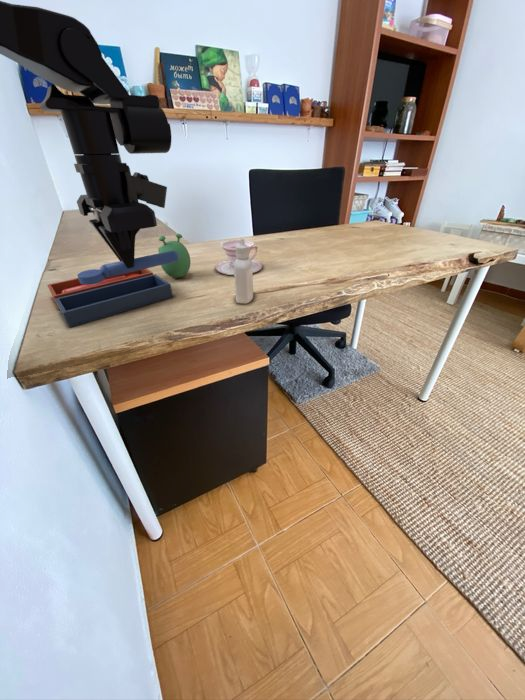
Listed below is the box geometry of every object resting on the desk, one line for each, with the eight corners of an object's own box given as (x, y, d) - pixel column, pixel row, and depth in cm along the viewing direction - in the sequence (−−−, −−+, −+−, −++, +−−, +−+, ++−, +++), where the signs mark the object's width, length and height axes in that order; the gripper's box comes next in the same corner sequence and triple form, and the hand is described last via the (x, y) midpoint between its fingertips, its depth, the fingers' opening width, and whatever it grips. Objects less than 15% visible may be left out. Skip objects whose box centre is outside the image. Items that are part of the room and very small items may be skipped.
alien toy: (182, 269, 76) (175, 228, 70) (198, 277, 71) (192, 234, 66) (157, 276, 72) (147, 233, 67) (172, 284, 68) (163, 240, 62)
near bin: (69, 327, 52) (62, 313, 50) (61, 312, 57) (54, 298, 55) (172, 297, 62) (170, 284, 60) (158, 286, 67) (155, 274, 65)
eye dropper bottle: (261, 296, 62) (260, 237, 55) (243, 306, 58) (240, 244, 51) (245, 291, 64) (243, 234, 57) (227, 300, 60) (222, 240, 53)
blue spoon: (174, 258, 56) (172, 247, 55) (183, 263, 53) (181, 252, 52) (77, 280, 47) (72, 267, 46) (82, 286, 45) (78, 274, 44)
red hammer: (65, 302, 60) (61, 293, 58) (61, 296, 62) (58, 288, 61) (146, 281, 68) (144, 273, 67) (140, 277, 70) (138, 269, 69)
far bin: (59, 310, 58) (53, 296, 56) (52, 297, 63) (47, 284, 61) (155, 284, 68) (152, 272, 66) (143, 275, 73) (140, 264, 71)
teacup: (212, 276, 72) (209, 250, 68) (219, 260, 82) (217, 237, 78) (261, 276, 71) (260, 250, 68) (262, 260, 81) (262, 237, 78)
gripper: (181, 153, 39) (197, 269, 47) (133, 153, 51) (153, 245, 59) (90, 156, 33) (128, 287, 42) (60, 154, 45) (94, 256, 54)
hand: (128, 266), depth 49 cm, fingers closed on blue spoon, 2 cm apart
